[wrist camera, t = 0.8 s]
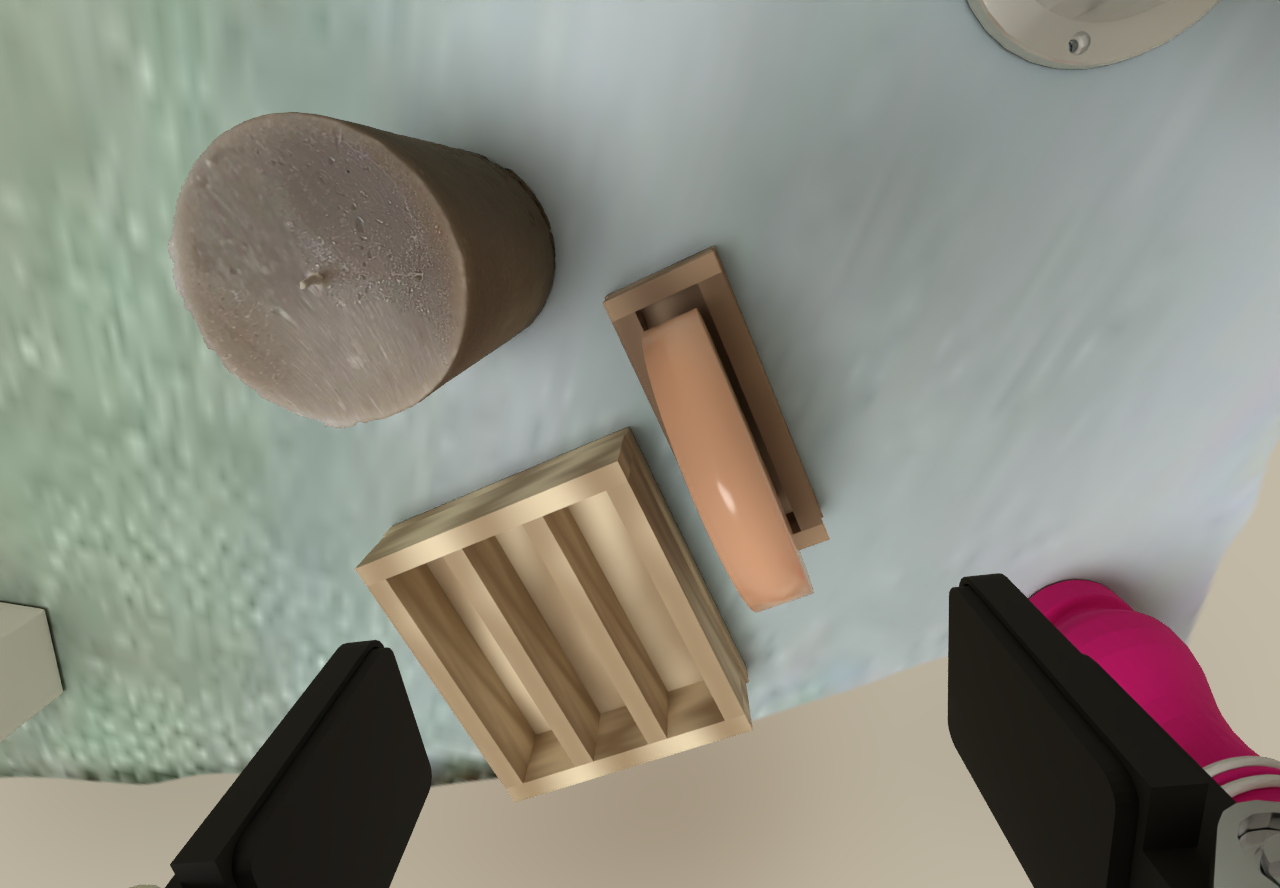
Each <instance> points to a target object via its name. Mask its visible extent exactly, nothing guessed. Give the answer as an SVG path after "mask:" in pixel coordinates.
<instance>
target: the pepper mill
mask: <svg viewBox="0 0 1280 888" xmlns="http://www.w3.org/2000/svg"><path fill="white" fill-rule="evenodd" d="M1029 600H1030V601H1031V602H1032V603H1033V604H1034V606H1035V607H1036V608H1037V609H1038V610H1039V611H1040V612H1041V613H1042V614H1043V615H1044V616H1045V617H1046V618H1047V619H1048V620H1049V621H1050V622H1051V623H1052V624H1053V625H1054V626H1055V627H1056V628H1057V629H1058V630H1059V631H1060V632H1061V633H1062V634H1063V635H1064V636H1065V637H1066V638H1067V639H1068V640H1069V641H1070V642H1071V643H1072V644H1073V645H1074V646H1075V647H1076V648H1077V649H1078V650H1079V651H1080V652H1081V653H1082V654H1085V655H1088V656H1089V657H1091V658H1092V659H1093V660H1094V661H1096V662H1097V663H1098V664H1099V665H1100V666H1101V667H1102V668H1103V669H1104V670H1105V671H1106V672H1107V673H1108V674H1109V675H1110V676H1111V677H1112V678H1113V679H1114V680H1115V681H1116V682H1117V683H1118V684H1119V685H1120V686H1121V687H1122V688H1123V689H1124V690H1125V691H1126V692H1127V693H1128V694H1129V695H1130V696H1131V697H1132V698H1133V699H1134V700H1135V701H1136V702H1137V703H1138V704H1139V705H1140V706H1141V707H1142V708H1143V709H1144V710H1145V711H1146V712H1147V713H1148V714H1149V715H1150V716H1151V717H1152V718H1153V719H1154V720H1155V721H1156V722H1157V723H1158V724H1159V725H1160V726H1161V727H1162V728H1163V729H1164V730H1165V731H1166V732H1167V733H1168V734H1169V735H1170V736H1171V737H1172V738H1173V739H1174V740H1175V741H1176V742H1177V743H1178V744H1179V745H1180V746H1181V747H1182V748H1183V749H1184V750H1185V751H1186V752H1187V753H1188V754H1189V755H1190V756H1191V757H1192V758H1193V759H1194V760H1195V761H1196V762H1197V763H1198V764H1199V765H1200V766H1201V767H1202V768H1203V769H1204V770H1205V771H1206V772H1207V773H1208V774H1209V775H1210V776H1211V777H1212V778H1213V779H1214V780H1215V781H1216V782H1217V783H1218V784H1219V785H1220V786H1221V787H1222V788H1223V789H1224V790H1225V791H1226V792H1227V793H1228V794H1229V795H1230V796H1231V797H1232V798H1233V799H1234V800H1235V801H1236V802H1237V803H1240V802H1246V801H1253V800H1262V801H1273V802H1280V762H1279V761H1277V760H1274V759H1271V758H1266V757H1260V756H1259V755H1258V754H1256V753H1255V752H1254V751H1253V750H1251V749H1250V748H1249V747H1248V746H1247V745H1246V744H1245V743H1244V742H1243V741H1242V740H1241V739H1240V738H1239V737H1238V736H1237V735H1236V734H1235V733H1234V732H1233V731H1232V729H1231V728H1230V726H1229V725H1228V724H1227V722H1226V721H1225V719H1224V718H1223V716H1222V715H1221V713H1220V711H1219V709H1218V707H1217V705H1216V702H1215V699H1214V697H1213V694H1212V692H1211V689H1210V687H1209V684H1208V682H1207V679H1206V677H1205V674H1204V672H1203V670H1202V668H1201V667H1200V665H1199V663H1198V662H1197V660H1196V659H1195V657H1194V656H1193V654H1192V653H1191V651H1190V649H1189V648H1188V646H1187V645H1186V644H1185V643H1184V642H1183V641H1182V640H1181V639H1180V638H1179V637H1178V636H1177V635H1176V634H1175V633H1174V632H1173V631H1172V630H1171V629H1170V628H1169V627H1167V626H1166V625H1165V624H1163V623H1162V622H1160V621H1158V620H1156V619H1155V618H1153V617H1150V616H1148V615H1145V614H1142V613H1139V612H1135V611H1133V609H1132V608H1131V607H1130V606H1129V605H1127V604H1126V603H1125V602H1124V601H1123V600H1122V599H1121V598H1119V597H1118V596H1117V595H1116V594H1115V593H1114V592H1112V591H1111V590H1110V589H1109V588H1107V587H1105V586H1103V585H1101V584H1099V583H1095V582H1092V581H1086V580H1070V581H1062V582H1059V583H1056V584H1053V585H1050V586H1047V587H1045V588H1044V589H1042V590H1040V591H1039V592H1037V593H1036V594H1034V595H1033V596H1032V597H1031V598H1030V599H1029Z"/></svg>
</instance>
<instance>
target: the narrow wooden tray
mask: <svg viewBox="0 0 1280 888" xmlns="http://www.w3.org/2000/svg"><path fill="white" fill-rule="evenodd" d="M603 304H604V306H605V309H606V311H607V313H608V315H609V317H610V319H611V321H612V323H613V326H614V328H615V330H616V332H617V334H618V336H619V338H620V341H621V343H622V345H623V347H624V349H625V351H626V353H627V355H628V358H629V360H630V362H631V364H632V366H633V368H634V370H635V372H636V375H637V377H638V379H639V381H640V383H641V385H642V387H643V389H644V392H645V394H646V396H647V398H648V400H649V402H650V404H651V407H652V409H653V411H654V413H655V415H656V417H657V419H658V421H659V424H660V426H661V428H662V430H663V432H664V434H665V436H666V438H667V441H668V443H669V445H670V447H671V449H672V451H673V448H672V446H671V443H670V440H669V437H668V435H667V432H666V429H665V426H664V423H663V420H662V417H661V414H660V411H659V408H658V405H657V402H656V399H655V396H654V392H653V389H652V386H651V382H650V379H649V375H648V371H647V367H646V363H645V359H644V353H643V347H642V333H643V332H644V331H646V330H648V329H650V328H652V327H655V326H657V325H659V324H661V323H664V322H666V321H668V320H670V319H672V318H675V317H677V316H679V315H681V314H684V313H686V312H688V311H690V310H692V309H695V308H697V309H698V311H699V313H700V314H701V316H702V318H703V320H704V322H705V325H706V327H707V329H708V331H709V333H710V335H711V337H712V340H713V342H714V344H715V346H716V349H717V351H718V353H719V355H720V358H721V360H722V362H723V364H724V367H725V369H726V371H727V374H728V376H729V378H730V381H731V383H732V385H733V388H734V390H735V392H736V395H737V397H738V399H739V402H740V404H741V406H742V409H743V411H744V414H745V416H746V418H747V421H748V423H749V426H750V428H751V430H752V433H753V435H754V438H755V440H756V442H757V445H758V447H759V450H760V452H761V455H762V457H763V460H764V462H765V464H766V467H767V469H768V472H769V474H770V477H771V479H772V482H773V484H774V487H775V489H776V492H777V494H778V497H779V499H780V502H781V504H782V507H783V509H784V512H785V514H786V517H787V520H788V522H789V525H790V527H791V530H792V532H793V535H794V538H795V540H796V543H797V545H798V548H799V550H801V549H804V548H806V547H809V546H812V545H815V544H818V543H820V542H823V541H826V540H829V536H828V534H827V531H826V529H825V526H824V524H823V521H822V519H821V518H823V515H822V512H821V510H820V507H819V505H818V502H817V500H816V497H815V495H814V493H813V490H812V488H811V485H810V483H809V480H808V478H807V475H806V473H805V470H804V468H803V465H802V463H801V460H800V458H799V455H798V453H797V450H796V448H795V445H794V443H793V440H792V438H791V435H790V433H789V430H788V428H787V425H786V423H785V420H784V418H783V415H782V413H781V410H780V408H779V405H778V403H777V401H776V398H775V396H774V393H773V391H772V388H771V386H770V383H769V381H768V378H767V376H766V373H765V371H764V368H763V366H762V363H761V361H760V358H759V356H758V353H757V351H756V348H755V346H754V343H753V341H752V338H751V336H750V333H749V331H748V328H747V326H746V323H745V321H744V318H743V316H742V313H741V311H740V308H739V306H738V304H737V301H736V299H735V296H734V294H733V291H732V289H731V286H730V284H729V281H728V279H727V276H726V274H725V271H724V269H723V266H722V264H721V261H720V259H719V256H718V254H717V251H716V249H715V246H712V247H709V248H707V249H705V250H703V251H701V252H699V253H697V254H695V255H692V256H690V257H688V258H686V259H684V260H682V261H680V262H677V263H675V264H673V265H671V266H669V267H667V268H665V269H663V270H660V271H658V272H656V273H654V274H652V275H650V276H648V277H645V278H643V279H641V280H639V281H637V282H635V283H633V284H631V285H628V286H626V287H624V288H622V289H620V290H618V291H616V292H613V293H611V294H609V295H607V296H606V297H605V301H604V302H603ZM673 453H674V451H673ZM674 455H675V454H674ZM675 458H676V456H675ZM676 460H677V459H676ZM677 462H678V461H677Z"/></svg>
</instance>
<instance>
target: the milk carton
mask: <svg viewBox="0 0 1280 888" xmlns="http://www.w3.org/2000/svg"><path fill="white" fill-rule="evenodd" d="M62 693H63V689H62V684H61V680H60V675H59V671H58V666H57V662H56V657H55V653H54V649H53V644H52V640H51V635H50V631H49V627H48V622H47V618H46V614H45V610H44V609H40V608H34V607H28V606H21V605H15V604H8V603H2V602H0V742H1V741H2V740H3V739H5V738H6V737H7V736H9V735H10V734H11V733H12V732H14V731H15V730H16V729H17V728H19V727H20V726H21V725H23V724H24V723H25V722H26V721H28V720H29V719H30V718H32V717H33V716H34V715H35V714H37V713H38V712H39V711H41V710H42V709H43V708H44V707H46V706H47V705H48V704H49V703H51V702H52V701H53V700H55V699H56V698H57V697H58V696H60V695H61V694H62Z"/></svg>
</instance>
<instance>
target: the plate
mask: <svg viewBox="0 0 1280 888" xmlns="http://www.w3.org/2000/svg"><path fill="white" fill-rule="evenodd" d="M642 347H643V353H644V359H645V363H646V367H647V371H648V375H649V379H650V382H651V386H652V389H653V392H654V396H655V399H656V402H657V405H658V408H659V411H660V414H661V417H662V420H663V423H664V426H665V429H666V432H667V435H668V437H669V440H670V443H671V446H672V448H673V451H674V454H675V456H676V459H677V461H678V464H679V467H680V469H681V472H682V474H683V477H684V479H685V482H686V484H687V486H688V489H689V491H690V494H691V496H692V499H693V501H694V503H695V505H696V508H697V510H698V512H699V515H700V517H701V519H702V522H703V524H704V526H705V528H706V530H707V532H708V535H709V537H710V539H711V541H712V543H713V545H714V547H715V549H716V551H717V553H718V555H719V558H720V560H721V561H722V563H723V565H724V567H725V569H726V571H727V573H728V575H729V577H730V578H731V580H732V582H733V584H734V585H735V587H736V589H737V591H738V592H739V594H740V595H741V597H742V598H743V600H744V601H745V602H746V604H747V605H748V606H749V608H750V609H751V610H753V611H754V612H756V613H757V612H760V611H763V610H766V609H769V608H772V607H775V606H778V605H781V604H783V603H786V602H789V601H792V600H795V599H798V598H801V597H804V596H807V595H810V594H813V593H814V592H813V588H812V584H811V581H810V578H809V575H808V573H807V570H806V567H805V564H804V562H803V559H802V556H801V553H800V551H799V548H798V545H797V543H796V540H795V538H794V535H793V532H792V530H791V527H790V525H789V522H788V520H787V517H786V514H785V512H784V509H783V507H782V504H781V502H780V499H779V497H778V494H777V492H776V489H775V487H774V484H773V482H772V479H771V477H770V474H769V472H768V469H767V467H766V464H765V462H764V460H763V457H762V455H761V452H760V450H759V447H758V445H757V442H756V440H755V438H754V435H753V433H752V430H751V428H750V426H749V423H748V421H747V418H746V416H745V414H744V411H743V409H742V406H741V404H740V402H739V399H738V397H737V395H736V392H735V390H734V388H733V385H732V383H731V381H730V378H729V376H728V374H727V371H726V369H725V367H724V364H723V362H722V360H721V358H720V355H719V353H718V351H717V349H716V346H715V344H714V342H713V340H712V337H711V335H710V333H709V331H708V329H707V327H706V325H705V322H704V320H703V318H702V316H701V314H700V313H699V311H698V309H697V308H695V309H692V310H690V311H688V312H686V313H684V314H681V315H679V316H677V317H675V318H672V319H670V320H668V321H666V322H664V323H661V324H659V325H657V326H655V327H652V328H650V329H648V330H646V331H644V332H643V333H642Z"/></svg>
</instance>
